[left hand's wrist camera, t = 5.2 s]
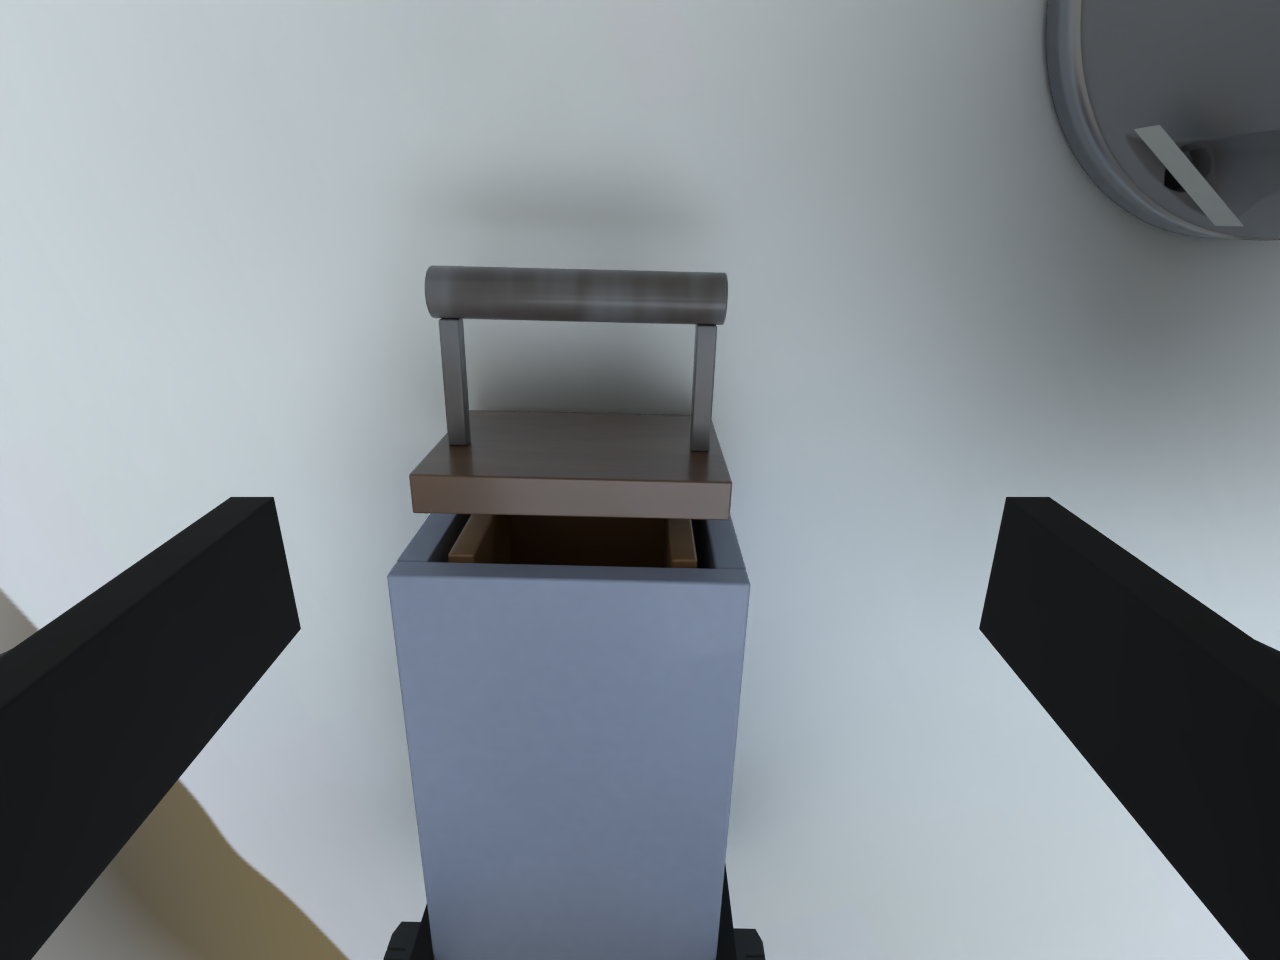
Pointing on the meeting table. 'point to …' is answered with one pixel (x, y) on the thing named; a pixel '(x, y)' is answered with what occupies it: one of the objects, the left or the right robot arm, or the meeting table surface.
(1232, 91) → the left robot arm
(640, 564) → the drawer
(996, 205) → the meeting table surface
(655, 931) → the cabinet
